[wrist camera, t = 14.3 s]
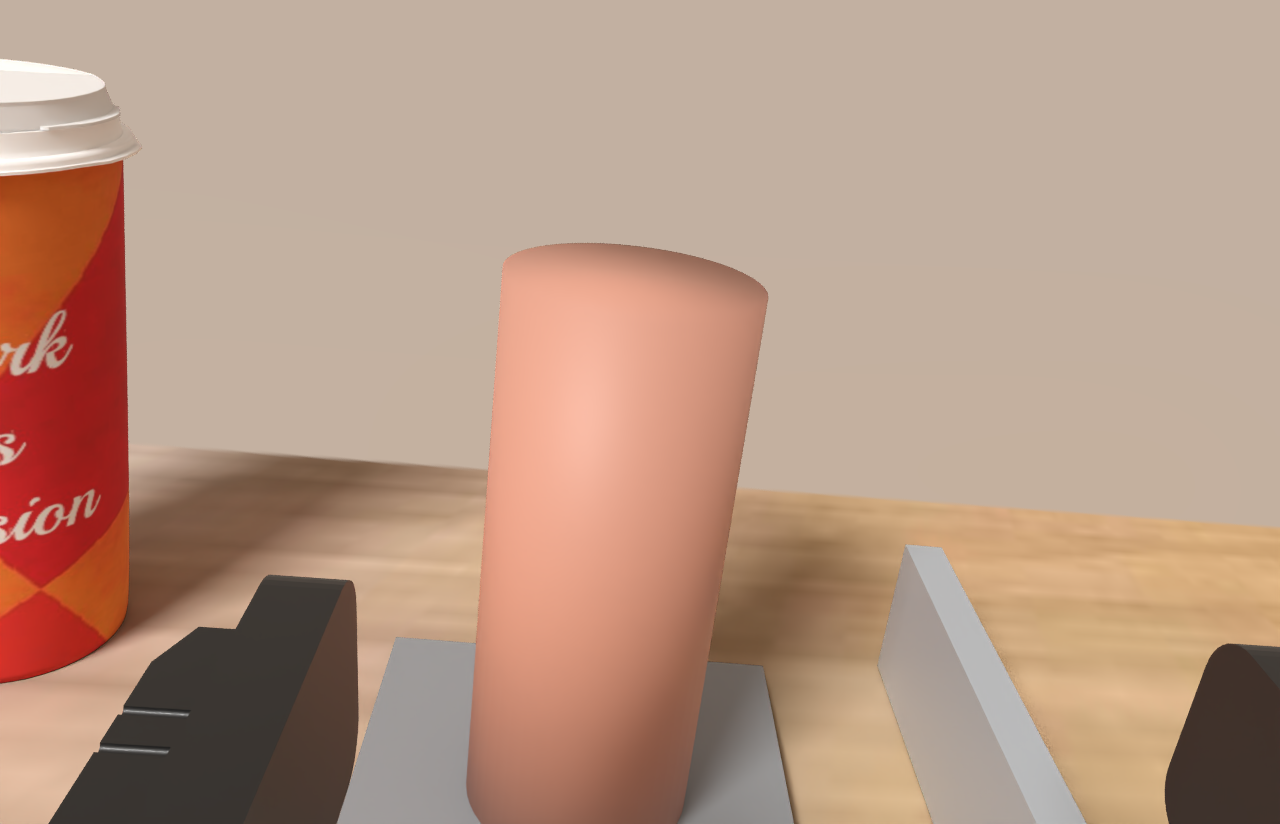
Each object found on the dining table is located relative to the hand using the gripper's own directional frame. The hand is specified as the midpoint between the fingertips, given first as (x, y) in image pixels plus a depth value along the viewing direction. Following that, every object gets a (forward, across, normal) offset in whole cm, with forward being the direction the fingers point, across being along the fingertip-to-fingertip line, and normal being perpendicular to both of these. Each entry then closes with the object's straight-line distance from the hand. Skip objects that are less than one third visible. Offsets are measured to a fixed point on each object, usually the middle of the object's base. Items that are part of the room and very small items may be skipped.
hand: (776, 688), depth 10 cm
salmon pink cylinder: (+11, +2, +12) cm, 16 cm away
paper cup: (+16, +17, +12) cm, 26 cm away
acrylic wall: (+11, -7, +12) cm, 18 cm away
